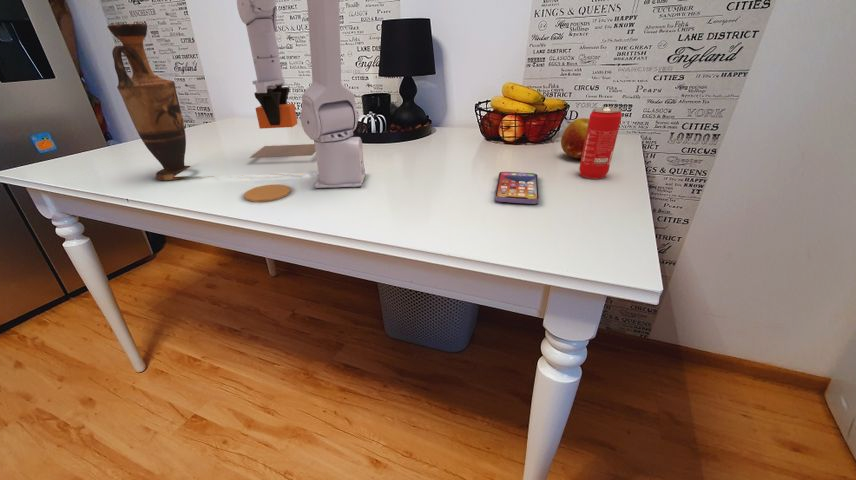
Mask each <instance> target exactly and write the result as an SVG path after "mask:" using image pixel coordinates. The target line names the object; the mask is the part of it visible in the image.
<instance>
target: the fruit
mask: <svg viewBox="0 0 856 480" xmlns="http://www.w3.org/2000/svg"><path fill="white" fill-rule="evenodd" d="M588 123H589V118H587V117H579V118H576V119H574V120H572V121H571V122H570V123H569V124H568V125H567V126H566V127H565V129H564V131H563V133H562V135H561V139H560V146H561V149H562V151H563V152H564V153H565V154H566V155H568V156H569V157H571V158H574V159H575V158H576V159H581V158H582V153H583V148H584V143H585V138H586V133H587V128H588Z"/></svg>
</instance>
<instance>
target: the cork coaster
mask: <svg viewBox="0 0 856 480" xmlns="http://www.w3.org/2000/svg"><path fill="white" fill-rule="evenodd" d="M291 193H292V192H291V188H290V186H288V185H285V184H266V185H261V186H257V187H253V188H251V189H249V190H247V191H245V192H244V194H243V198H244V199H245V200H246V201H248V202H253V203H264V202H271V201H272V202H273V201H276V200H279V199H282V198H285V197H286V196H288V195H290V194H291Z"/></svg>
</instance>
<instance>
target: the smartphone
mask: <svg viewBox="0 0 856 480" xmlns="http://www.w3.org/2000/svg"><path fill="white" fill-rule="evenodd" d="M538 177H539V176H538V174H537V173H533V172H517V171H500V172H499V173H498V175H497V183H496V188H495V191H494V200H495V201H496V202H501V203H511V204H512V203H514V204H526V205H527V204H528V205H537V204H539V200H540V193H539V192H540V190H539V189H540V188H539V178H538Z"/></svg>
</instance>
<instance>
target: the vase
mask: <svg viewBox="0 0 856 480" xmlns="http://www.w3.org/2000/svg"><path fill="white" fill-rule="evenodd" d="M106 27H107V28H108V30H109V31H110V33H111V34H112V35H113V36H114V37H115V38H116V39H117V40H119V41H120V43H121V44H122V45H116V46H114V47H113V48H112V51H111V55H112V59H113V65H114V69H115V73H116V76H117V82H118V83H117V86H116V88H117V90H118V92H119V95H120V96H121V98H122V101H123V103H124V106H125V108H126V110H127V112H128V115H129V117H130V119H131V121H132V124H133V126H134V129H135V130H136V132H137V134H138V135H139V138H140V139H141V141H142V143H143V144H144V146H145V147H146V148H147V150H148V151H149V152H150V154H152V156H153V157H154V158H155V159H156V161H158V163H160V165H161V167H162V168H161V169H159V170H158V171H157V172H156V173H155V177H156V179H157V180H159V181H173V180H175V181H176V180H180V179H184V178H188V177H189V176H188V175H182V176H177V175H179V174H181V173H183V172H184V171H186V170H188V169H189V168H191V167H192V165H185V157H186V150H187V137H186V128H185V123H184V118H183V114H182V109H181V106H180V101H179V98H178V94H177V88H176V83H175V81H174V80H171V79H170V80H169V79H164V78H162V77H159V76H158V75H156V74H155V73H154V72H153V70H152V68H151V65H150V63H149V60H148V57H147V54H146V51H145V47H144V39H145V38H146V37H147V35H148V34H147V33H148V24H147V23H120V24H109V25H106ZM122 54H123V55H124V56H125V58H126V60H127V62H128V64H129V66H130V68H131V70H132V75H131V77H130V76H129V74H128V73H127V71H126V68H125V65H124V61H123V57H122Z"/></svg>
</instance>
